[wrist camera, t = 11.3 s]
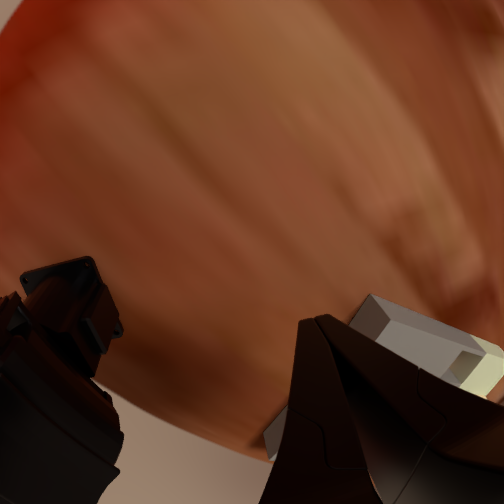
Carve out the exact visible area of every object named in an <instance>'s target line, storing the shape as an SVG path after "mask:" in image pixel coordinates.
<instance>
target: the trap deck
mask: <svg viewBox="0 0 504 504" xmlns="http://www.w3.org/2000/svg"><path fill="white" fill-rule="evenodd" d="M348 326H350V327H352V328H353V329H355V330H357V331H358V332H360V333H362V334H364V335H365V336H367V337H369V338H370V339H372V340H374V341H375V342H377V343H379V344H381V345H382V346H384V347H386V348H387V349H389V350H391V351H393V352H394V353H396V354H398V355H400V356H401V357H403V358H405V359H406V360H408V361H410V362H412V363H413V364H415V365H417V366H418V367H419V368H422V369H424V370H426V371H427V372H429V373H431V374H433V375H435V376H436V377H438V378H440V379H442V380H444V381H446V382H448V383H450V384H452V385H454V386H457V387H459V388H461V389H463V390H465V391H468V392H470V393H473V394H476V395H485V396H486V395H487V394H488V393H489V392H490V391H491V389H492V388H493V387H494V386H495V385H496V384H497V382H498V381H499V380H500V379H501V377H502V376H503V375H504V351H503V350H502V349H501V348H500V347H499V346H497V345H495V344H492V343H490V342H488V341H485V340H483V339H480V338H478V337H475V336H473V335H471V334H468V333H466V332H463V331H461V330H458V329H456V328H454V327H451V326H449V325H446V324H444V323H441V322H439V321H436V320H434V319H432V318H429V317H427V316H424V315H422V314H419V313H417V312H414V311H412V310H409V309H407V308H405V307H402V306H400V305H397V304H395V303H392V302H390V301H387V300H385V299H382V298H380V297H377V296H375V295H372V294H369V296H368V297H367V299H366V300H365V302H364V303H363V305H362V306H361V308H360V309H359V311H358V312H357V314H356V315H355V317H354V318H353V320H352V321H351V322H350V324H349V325H348ZM287 407H288V405H287V406H286V407H285V408H284V409H283V411H282V412H281V413H280V414H279V415H278V416H277V418H276V419H275V420H274V421H273V422H272V423H271V424H270V426H269V427H268V428H267V429H266V430H265V431H264V432H263V434H264V439H265V444H266V449H267V454H268V459H269V460H271V461H275V459H276V456H277V453H278V449H279V446H280V443H281V439H282V435H283V430H284V425H285V419H286V413H287V410H288V409H287Z"/></svg>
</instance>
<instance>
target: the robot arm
mask: <svg viewBox="0 0 504 504" xmlns="http://www.w3.org/2000/svg"><path fill="white" fill-rule="evenodd" d="M85 262H87V263H89V265H90V266H86V265H85ZM25 278H26V279H27V280H28V281H26V279H25ZM20 282H21V284H22V286H23V288H24V291H25V293H26V295H27V298H26V299H25V301H24V302H23V303H22V301H21V297H20V296H19V295H18V293H17V292H16V291H14V292H13V293H12V294H10V295H9V296H7V295H6V296H5V297H3V298H2V297H0V504H97V503H98V500H99V498H100V496H101V495H102V493H103V492H104V490H105V489H106V487H107V486H108V485H109V484H110V483H111V482H112V481H113V480H114V479H115V478H116V477H117V476H118V475H119V474H120V470H119V469H118V468H117V467H115V466H114V465H115V463H116V461H117V459H118V456H119V454H120V452H121V449H122V444H123V440H124V433H123V432H122V431H120V423H119V415H118V413H117V412H116V410H115V408H114V407H113V402H112V397H111V396H110V395H109V394H108V393H107V392H106V391H102V390H101V389H100V388H99V387H98V386H97V385H96V384H95V383H94V382H93V381H92V380H91V379H90V378H92V377H94V376H95V373H96V370H97V367H98V364H99V361H100V357H101V355H103V354H106V352H107V351H108V348H109V344H110V341H111V339H114V338H120V337H121V336H122V335H123V331H124V329H123V327H122V324H121V322H120V320H119V318H118V317H119V313H118V310H117V308H116V306H115V304H114V301H113V299H112V297H111V294H110V292H109V290H108V287H107V285H105V284H104V283H103V281H102V279H101V276H100V274H99V272H98V269H97V266H96V264H95V261H94V260H93V258H91V257H90V256H84V257H80V258H76V259H72V260H68V261H64V262H60V263H57V264H53V265H49V266H45V267H41V268H38V269H34V270H30V271H27V272H24V273H23V274H22V275H21V276H20ZM115 330H118V331H119V332H116V331H115ZM287 409H288V410H287V413H286V419H285V425H284V430H283V435H282V439H281V443H280V446H279V449H278V453H277V456H276V459H275V462H274V464H273V467H272V470H271V473H270V476H269V478H268V481H267V483H266V486H265V489H264V491H263V494H262V496H261V499H260V501H259V503H258V504H383V503H384V504H504V406H502V405H499V404H497V403H494V402H492V401H489V400H487V399H485V398H482V397H480V396H477V395H475V394H473V393H470V392H468V391H465V390H463V389H461V388H459V387H457V386H454V385H452V384H450V383H448V382H446V381H444V380H442V379H440V378H438V377H436V376H435V375H433V374H431V373H429V372H427V371H426V370H424V369H422V368H419V367H418V366H417V365H415V364H413V363H412V362H410V361H408V360H406V359H405V358H403V357H401V356H400V355H398V354H396V353H394V352H393V351H391V350H389V349H387V348H386V347H384V346H382V345H381V344H379V343H377V342H375V341H374V340H372V339H370V338H369V337H367V336H365V335H364V334H362V333H360V332H358V331H357V330H355V329H353V328H352V327H350V326H348V325H347V324H345V323H343V322H341V321H340V320H338V319H336V318H335V317H333V316H331V315H330V314H324V315H320V316H316V317H314V319H313V318H307V319H303V320H300V321H299V323H298V331H297V339H296V348H295V356H294V364H293V371H292V379H291V386H290V393H289V400H288V407H287ZM368 471H369V472H368ZM369 473H370V475H371V477H372V479H373V481H374V484H375V486H376V488H377V490H378V492H379V494H380V496H381V499H382V500H381V499H380V497H379V496H378V494H377V492H376V491H375V489H374V486H373V484H372V481H371V478H370V475H369ZM382 501H383V502H382Z"/></svg>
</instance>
